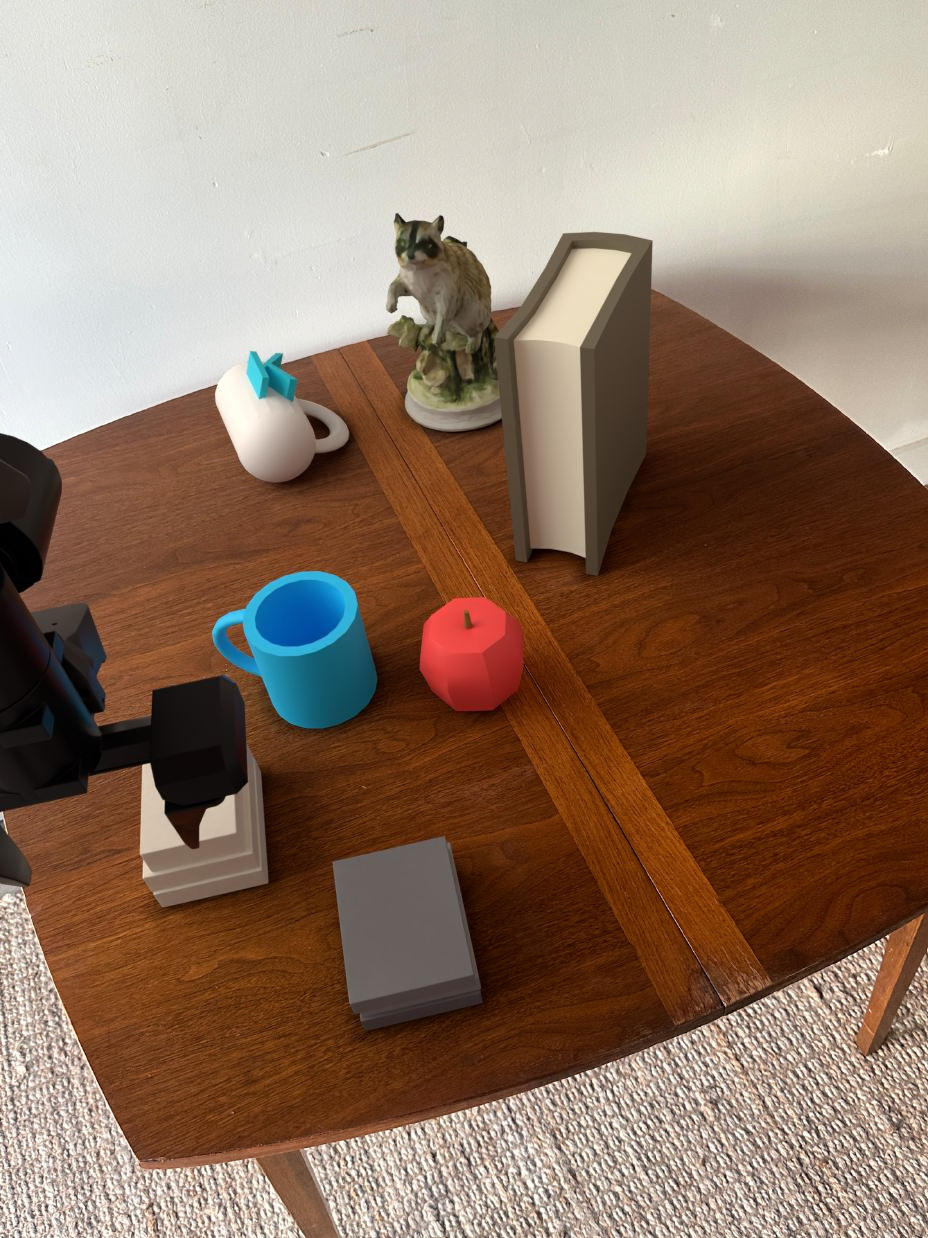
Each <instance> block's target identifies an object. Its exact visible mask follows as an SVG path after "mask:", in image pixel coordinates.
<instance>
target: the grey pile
mask: <svg viewBox="0 0 928 1238" xmlns="http://www.w3.org/2000/svg"><path fill="white" fill-rule="evenodd" d="M456 868H457V867H456V864H455V859H454V853H453V849H452V845H451V842H450V841H449V842H447V839H446V836H445V835H443V836H439V837H435V838H430V839H426V840H420V841H417V842H413V843H408V844H404V845H400V846H395V847H391V848H387V849H386V848H385V849H382V850H378V851H374V852H369V853H365V854H360V855H355V856H352V857H348V858H343V859H338V860H334V861H332V869H333V877H334V886H335V893H336V902H337V903H336V904H337V909H338V918H339V919H338V920H339V928H340V937H341V944H342V951H343V952H342V953H343V960H344V961H343V962H344V970H345V978H346V986H347V987H346V988H347V996H348V1002H349V1006H350V1008H351V1010H352V1012H353V1014H354V1015H359V1018H360V1019H359V1020H360V1023H361V1025H362V1027H363V1029H364V1031H365V1032H368V1031H372V1030H376V1029H380V1028H385V1027H388V1026H393V1025H397V1024H401V1023H406V1022H411V1021H415V1020H418V1019H422V1018H426V1017H429V1016H430V1017H431V1016H435V1015H440V1014H443V1013H446V1012H447V1013H448V1012H452V1011H456V1010H461V1009H465V1008H469V1007H472V1006H477V1005H481V1004H483V1002H484V1001H483V997H482V993H481V992H482V991H481V989H482V986H481V981H480V976H479V972H478V967H477V961H476V957H475V953H474V948H473V943H472V940H471V935H470V929H469V925H468V919H467V915H466V910H465V906H464V905H465V904H464V900H463V898H462V891H461V886H460V881H459V877H458V874H457V873H458V872H457V869H456Z"/></svg>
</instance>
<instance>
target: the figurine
mask: <svg viewBox="0 0 928 1238" xmlns="http://www.w3.org/2000/svg"><path fill="white" fill-rule="evenodd" d="M393 226H394V232H395V241H394V244H393V251H394V254H395V256H396V259H397V263H398V265H399V272H398V274H397V276H396V278H395V279H394V280H393V281H392V282H391V283H390V285H389V286H388V289H387V295H386V297H387V298H386V299H387V300H386V305H385V310H386V311H387V312H388V313H390V314H393V313H395V312H397V311H398V304H399V298H400V297H412V298H414V299H415V300H416V301H417V302H418V306H419V313H420V314H421V316H422V317H423V319H424V320H425V324H424V323H421V324H419V323H416V322H415V319H414V317H412V316H406V315H405V314H401V317H399V320H396V321H395V322H393V323H391V324H390V325H389V327H388V328H387V330H386V335H388V336H391V337H394V338H395V339H398V340H399V341H398V347H399V348H403V349H407V350H410V349H411V350H412V352H413V353H416V352H417V351H418V350H419V348H420V353H419V355H418V356H417V357H416V360H415V364H414V366H413V368H412V371H411V373H410V374H409V376H408V379H407V385H406V388H407V392H406V394H405V397H404V406H405V410H406V413H407V414H408V415H409V417H410V418H411V419H412V420H414V421H415V422H416V423H417V424H419V425H421V426H422V427H424V428H428V429H430V430H431V429H432V430H435V431H440V432H450V433H451V432H465V431H471V430H477V429H481V428H485V427H487V426H491V425H493V424H494V423H496V422H498V421H500V420H502V415H501V404H500V394H499V384H498V374H497V363H496V353H495V343H494V337H495V336H496V334H497V333H498V332H499V331H500V330H499V328H498V327H497V325H496V323H495V321H494V320H493V318H492V317H491V316H492V284H491V280H490V276H489V275H488V273H487V271H486V268H485V266H484V265H483V263H482V262H481V261H480V260H479V259H478V257H477V255H476V254H475V253H474V251H472V250H471V249H470V248H468V241H461V240H460V239H458V238H456V237H454V236H451V235H448V236H446V237H444V238H443V239H442V233H443V232H444V229H445V218H444V216H443V215H442V214H439V215H438V216H437V217H436V218H435V219H434V220H433V221H432V222H431V221H427V220H419V219H418V220H417V219H413V220H409V221H406V220H405V219H404V218H403V217H402V215H401V214H399V212H396V213H395V214H394V220H393Z"/></svg>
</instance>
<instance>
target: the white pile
mask: <svg viewBox="0 0 928 1238" xmlns="http://www.w3.org/2000/svg"><path fill="white" fill-rule="evenodd" d="M246 744H247V767H248V783H247V784H246V785H245V786H244V787H243V788H242V791H243V809H244V827H245V845H246V850H245V851H242V852H237V853H233V854H228V855H224V856H220V857H215V858H211V859H207V860H202V861H198V862H194V863H189V864H185V865H181V866H176V867H172V868H167V869H163V870H159V871H154V872H151V870H150V869H149V867H148V866H147V864H146V863H145V861H144V860H143V859H142V880H143V881H144V883H145V884H146V886H147V887H148V889H149V890H150V891H151V892H153V896H154V898H155V899H156V900H157V902H158V904H159V905H160V906H161V907H162V908H167V907H171V906H176V905H180V904H184V903H189V902H193V901H198V900H203V899H206V898H210V897H215V896H220V895H223V894H229V893H233V892H236V891H242V890H245V889H249V888H254V887H258V886H262V885H266V884H269V870H268V856H267V855H268V853H267V841H266V825H265V813H264V810H265V809H264V797H263V782H262V781H263V780H262V771H261V769H260V767H259V764H258V762H257V760H256V758H255V757H254V756H253V753H252V751H251V748H250V746H249V744H248V741H246Z"/></svg>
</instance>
